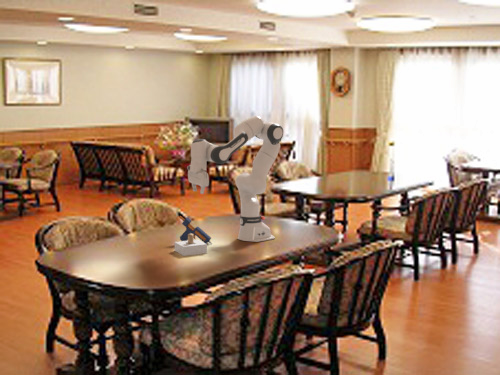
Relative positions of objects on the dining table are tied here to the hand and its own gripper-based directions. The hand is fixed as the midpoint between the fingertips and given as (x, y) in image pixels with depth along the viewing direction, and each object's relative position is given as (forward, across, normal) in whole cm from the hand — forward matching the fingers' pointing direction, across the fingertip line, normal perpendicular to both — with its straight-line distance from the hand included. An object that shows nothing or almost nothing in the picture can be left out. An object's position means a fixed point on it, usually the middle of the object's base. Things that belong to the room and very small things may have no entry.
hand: (198, 192), depth 374 cm
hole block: (+31, -10, +9) cm, 34 cm away
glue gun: (+31, +8, -3) cm, 33 cm away
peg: (+31, -10, +9) cm, 34 cm away
